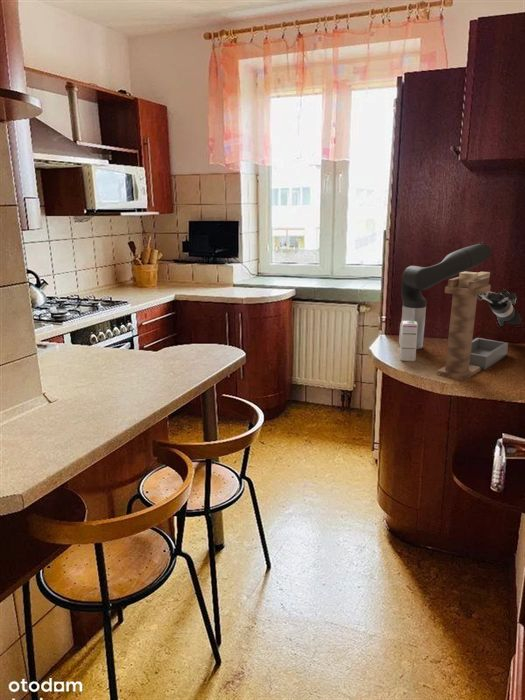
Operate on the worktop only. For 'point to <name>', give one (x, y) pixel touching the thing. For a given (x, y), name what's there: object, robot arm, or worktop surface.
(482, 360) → the tray
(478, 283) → the stand
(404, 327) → the syrup box
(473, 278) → the peg
